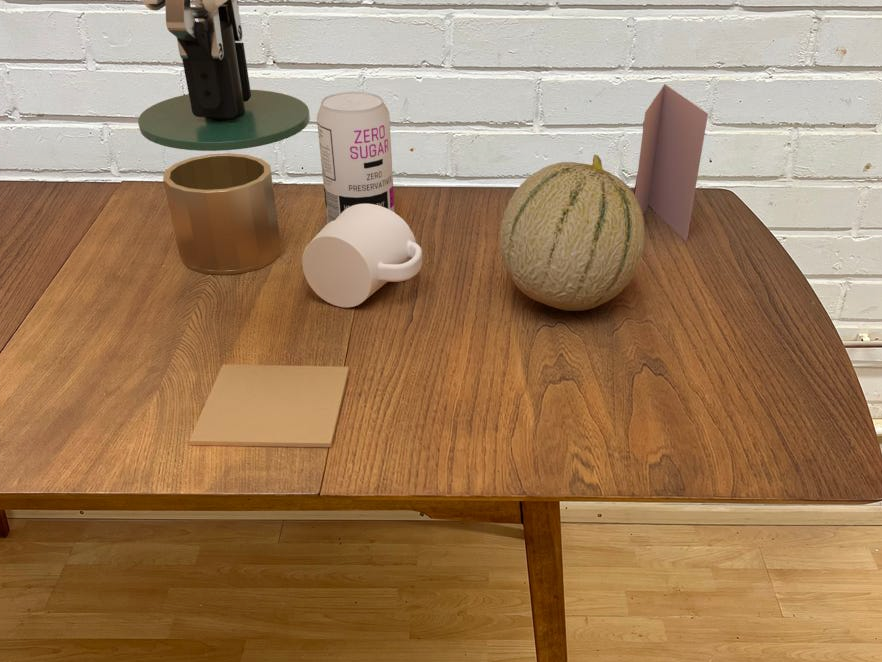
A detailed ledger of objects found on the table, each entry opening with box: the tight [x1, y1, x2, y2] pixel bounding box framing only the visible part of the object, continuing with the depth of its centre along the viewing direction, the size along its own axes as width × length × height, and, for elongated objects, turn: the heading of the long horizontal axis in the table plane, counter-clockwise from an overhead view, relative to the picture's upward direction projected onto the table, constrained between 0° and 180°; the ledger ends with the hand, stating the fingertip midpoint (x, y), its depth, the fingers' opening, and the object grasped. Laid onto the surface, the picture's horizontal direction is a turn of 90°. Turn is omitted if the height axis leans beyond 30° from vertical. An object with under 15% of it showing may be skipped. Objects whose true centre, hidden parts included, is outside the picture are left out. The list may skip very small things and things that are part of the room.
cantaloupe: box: [499, 154, 646, 312], centre depth 91 cm, size 15×15×15 cm
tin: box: [162, 152, 282, 276], centre depth 101 cm, size 11×11×10 cm
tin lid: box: [137, 21, 311, 152], centre depth 65 cm, size 12×12×7 cm
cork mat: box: [188, 364, 350, 448], centre depth 80 cm, size 12×12×1 cm
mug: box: [301, 204, 423, 308], centre depth 94 cm, size 12×9×8 cm
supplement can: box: [316, 91, 396, 224], centre depth 104 cm, size 8×8×15 cm
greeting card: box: [633, 83, 709, 243], centre depth 106 cm, size 11×7×15 cm, turn 160°
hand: (222, 105), depth 66 cm, fingers closed on tin lid, 3 cm apart
